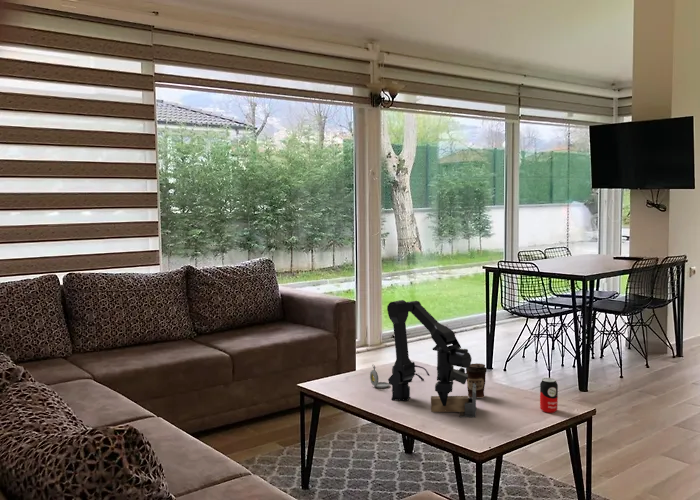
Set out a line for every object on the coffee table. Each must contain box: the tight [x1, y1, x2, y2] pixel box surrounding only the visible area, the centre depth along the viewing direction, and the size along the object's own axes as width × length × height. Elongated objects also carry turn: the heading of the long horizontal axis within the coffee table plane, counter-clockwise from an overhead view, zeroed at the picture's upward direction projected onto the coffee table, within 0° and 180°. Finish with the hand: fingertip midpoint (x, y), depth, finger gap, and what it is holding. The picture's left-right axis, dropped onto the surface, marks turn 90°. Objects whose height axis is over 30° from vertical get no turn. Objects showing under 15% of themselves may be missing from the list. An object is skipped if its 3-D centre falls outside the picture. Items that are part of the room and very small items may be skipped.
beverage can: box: [539, 377, 559, 414], centre depth 256 cm, size 6×6×12 cm
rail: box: [430, 395, 469, 413], centre depth 258 cm, size 14×4×5 cm, turn 82°
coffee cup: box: [465, 362, 488, 399], centre depth 275 cm, size 9×8×13 cm
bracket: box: [458, 383, 477, 418], centre depth 256 cm, size 6×12×9 cm, turn 169°
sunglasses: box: [391, 364, 430, 381], centre depth 307 cm, size 14×16×5 cm
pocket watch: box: [369, 364, 390, 389], centre depth 291 cm, size 8×8×10 cm
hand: (444, 403), depth 258 cm, fingers open, 5 cm apart
